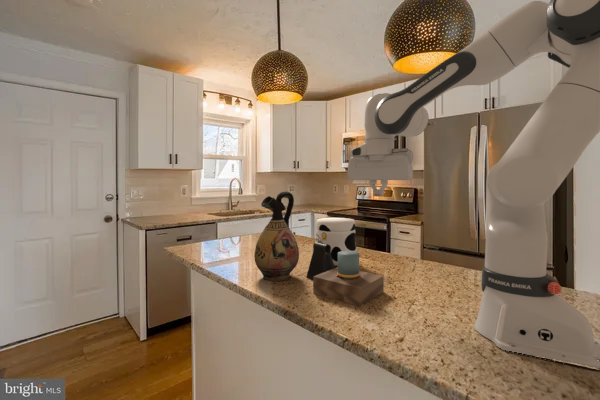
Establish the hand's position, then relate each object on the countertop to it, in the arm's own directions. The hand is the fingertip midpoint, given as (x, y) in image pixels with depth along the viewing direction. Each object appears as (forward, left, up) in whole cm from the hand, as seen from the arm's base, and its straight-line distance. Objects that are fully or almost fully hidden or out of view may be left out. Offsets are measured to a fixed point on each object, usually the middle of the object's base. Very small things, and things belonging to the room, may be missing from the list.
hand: (378, 195), depth 97 cm
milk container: (+26, -15, -29) cm, 42 cm away
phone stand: (+20, +2, -29) cm, 36 cm away
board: (+5, +9, -29) cm, 31 cm away
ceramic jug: (+32, +11, -29) cm, 45 cm away
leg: (+5, +9, -29) cm, 31 cm away
